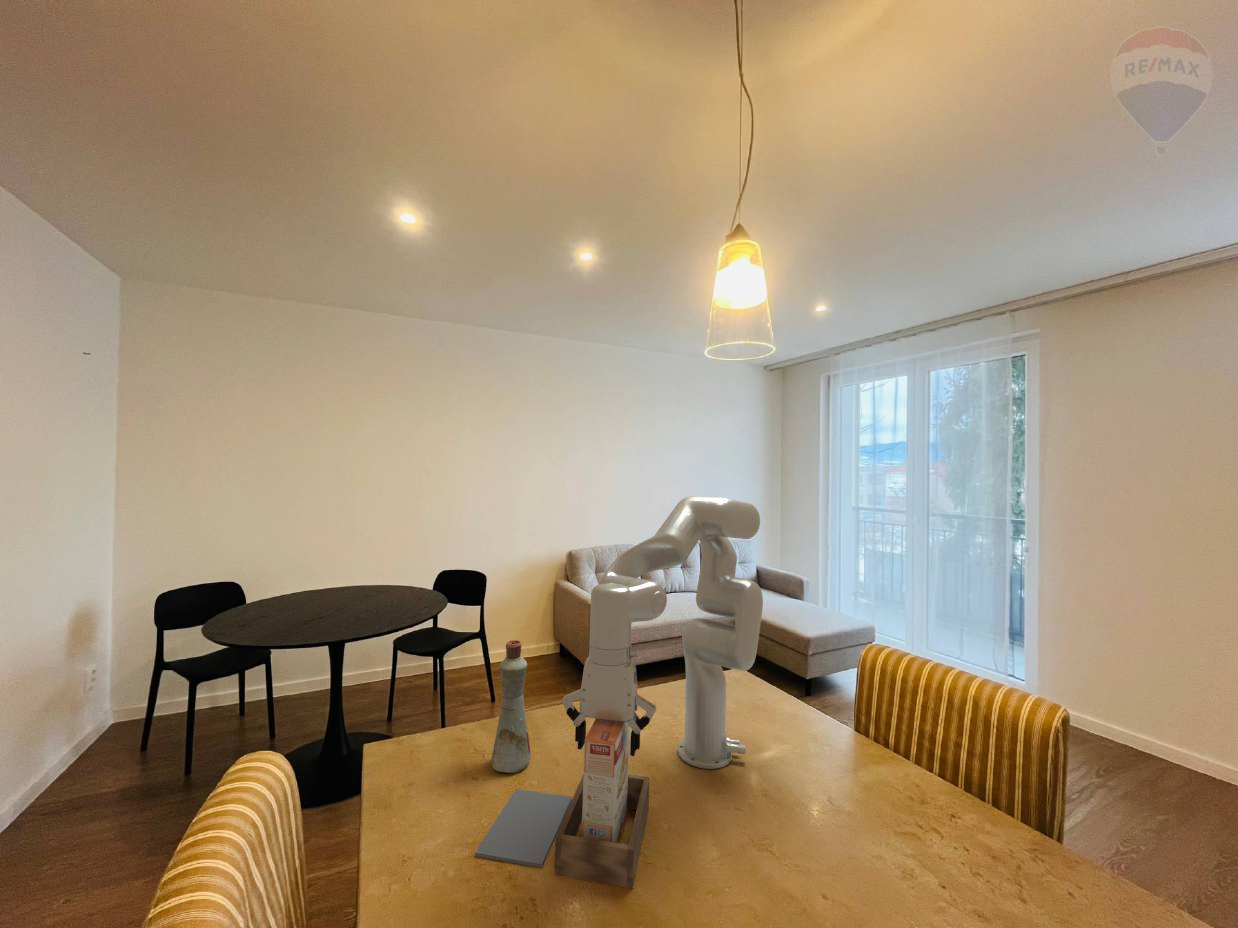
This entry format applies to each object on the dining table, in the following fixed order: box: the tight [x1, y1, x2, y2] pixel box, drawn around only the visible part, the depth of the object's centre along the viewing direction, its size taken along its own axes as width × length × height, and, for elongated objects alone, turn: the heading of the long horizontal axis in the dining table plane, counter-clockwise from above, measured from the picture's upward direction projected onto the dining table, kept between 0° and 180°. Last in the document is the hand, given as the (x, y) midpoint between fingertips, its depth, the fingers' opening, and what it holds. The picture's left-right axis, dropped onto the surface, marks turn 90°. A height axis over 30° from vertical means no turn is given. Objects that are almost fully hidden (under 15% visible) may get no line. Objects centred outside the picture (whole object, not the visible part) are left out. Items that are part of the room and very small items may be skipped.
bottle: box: [490, 639, 531, 774], centre depth 114 cm, size 9×9×28 cm
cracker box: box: [580, 718, 631, 843], centre depth 91 cm, size 14×6×21 cm, turn 168°
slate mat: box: [474, 788, 573, 869], centre depth 93 cm, size 12×18×1 cm, turn 169°
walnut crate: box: [553, 773, 650, 890], centre depth 91 cm, size 13×20×6 cm, turn 169°
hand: (607, 748), depth 91 cm, fingers open, 9 cm apart
